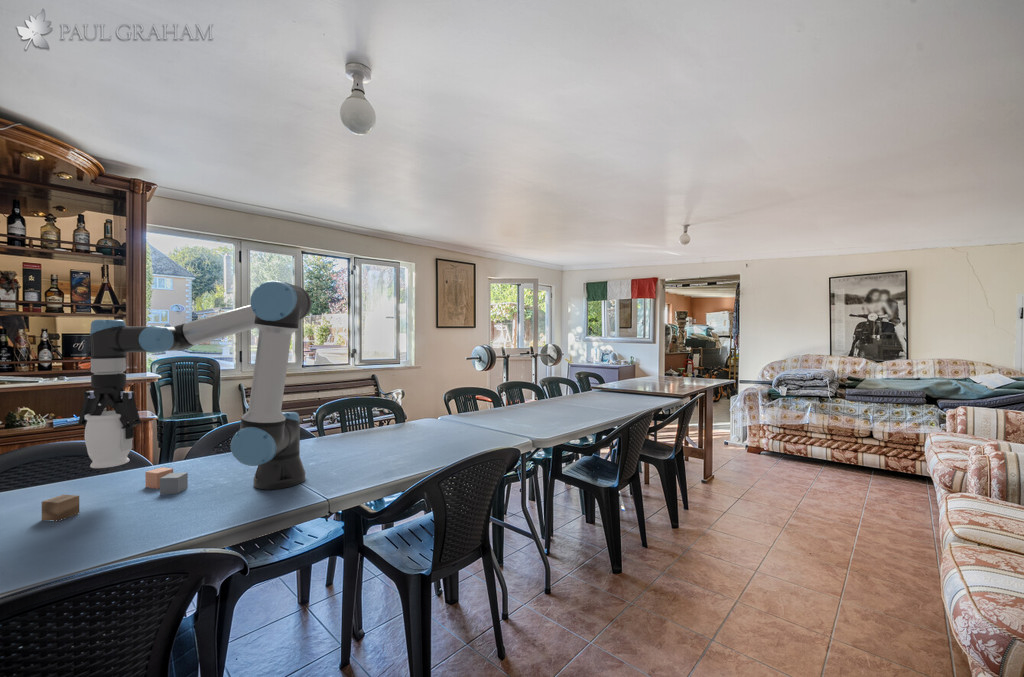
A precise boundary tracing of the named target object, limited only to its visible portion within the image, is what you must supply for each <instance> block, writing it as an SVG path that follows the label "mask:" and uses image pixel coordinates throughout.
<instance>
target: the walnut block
mask: <svg viewBox="0 0 1024 677" xmlns="http://www.w3.org/2000/svg"><path fill="white" fill-rule="evenodd" d="M78 513H79V514H80V495H74V494H62V495H59V496H55V497H51V498H49V499H46V500H42V501H41V521H44V520H54V521H53V522H60V521H59V520H61V519H64V518H66V519H68V518H67V517H69V518H71V517H70V516H72V517H74V516H76V515H75V514H77V515H79V514H78ZM73 515H74V516H73ZM56 520H57V521H56ZM64 520H65V519H64ZM61 521H62V520H61Z"/></svg>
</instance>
